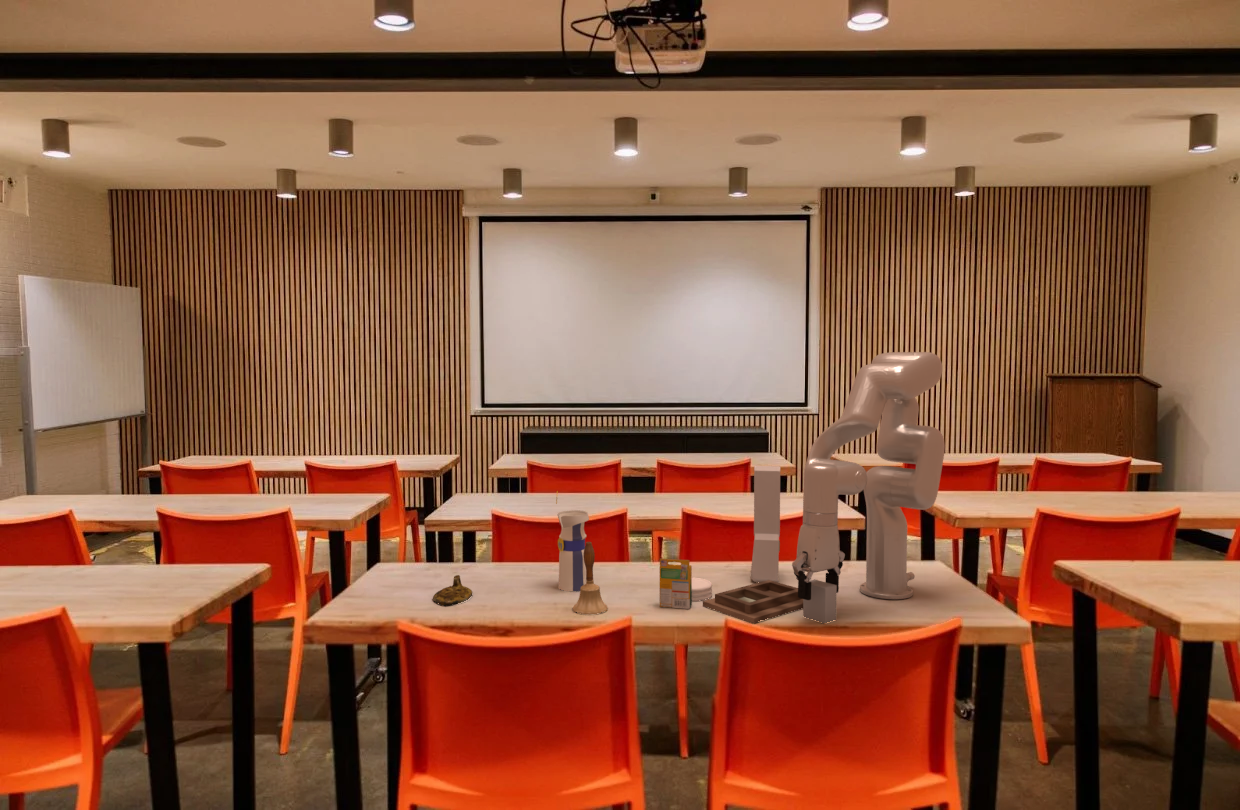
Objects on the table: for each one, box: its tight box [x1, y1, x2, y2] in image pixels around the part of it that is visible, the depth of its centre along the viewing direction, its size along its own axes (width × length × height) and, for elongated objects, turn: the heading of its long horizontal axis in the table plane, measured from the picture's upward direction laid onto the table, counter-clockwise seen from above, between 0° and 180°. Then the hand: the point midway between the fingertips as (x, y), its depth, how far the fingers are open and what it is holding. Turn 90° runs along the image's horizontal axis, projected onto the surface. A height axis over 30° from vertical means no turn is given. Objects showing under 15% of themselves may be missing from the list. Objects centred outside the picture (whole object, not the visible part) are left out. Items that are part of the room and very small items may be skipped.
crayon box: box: [659, 558, 693, 610], centre depth 185 cm, size 7×3×12 cm, turn 75°
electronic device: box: [750, 465, 781, 583], centre depth 209 cm, size 12×8×30 cm, turn 168°
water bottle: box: [555, 490, 590, 592], centre depth 201 cm, size 8×9×25 cm
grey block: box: [802, 578, 838, 624], centre depth 176 cm, size 4×6×8 cm, turn 38°
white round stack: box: [692, 576, 713, 602], centre depth 194 cm, size 10×10×4 cm
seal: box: [432, 574, 473, 606], centre depth 194 cm, size 9×5×15 cm
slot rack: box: [702, 580, 803, 624], centre depth 186 cm, size 22×16×3 cm
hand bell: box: [572, 541, 609, 615], centre depth 183 cm, size 8×8×16 cm
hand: (818, 595), depth 175 cm, fingers open, 9 cm apart
